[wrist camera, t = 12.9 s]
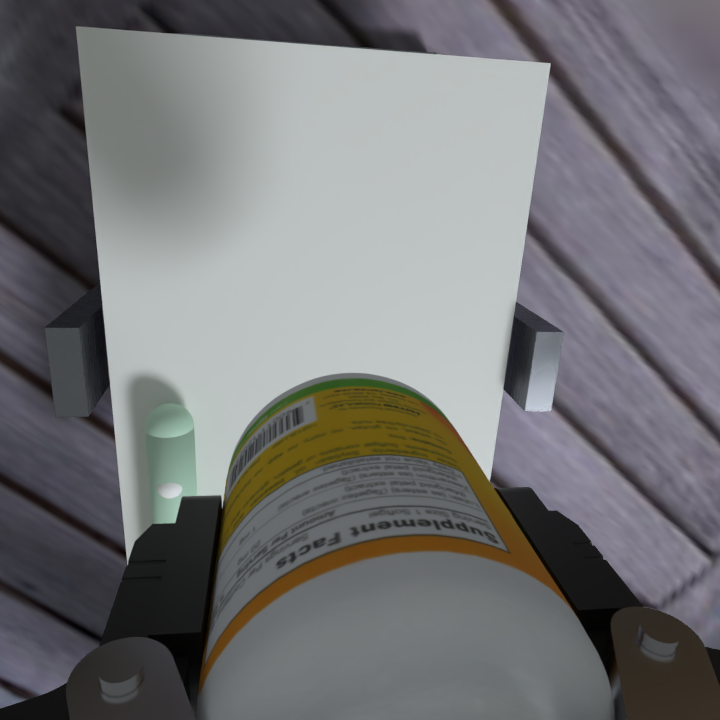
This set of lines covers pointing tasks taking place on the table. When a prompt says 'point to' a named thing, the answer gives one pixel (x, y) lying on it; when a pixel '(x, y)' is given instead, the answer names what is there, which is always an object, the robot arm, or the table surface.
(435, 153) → the levelling plate
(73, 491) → the table surface
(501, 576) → the supplement bottle
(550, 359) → the base
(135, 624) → the robot arm
